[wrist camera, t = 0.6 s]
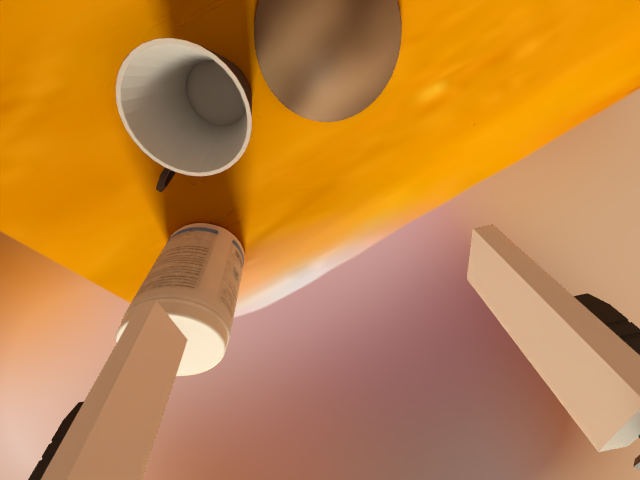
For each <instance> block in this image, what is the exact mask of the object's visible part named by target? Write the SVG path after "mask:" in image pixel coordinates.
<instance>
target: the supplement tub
mask: <svg viewBox="0 0 640 480" xmlns="http://www.w3.org/2000/svg"><path fill="white" fill-rule="evenodd" d="M243 264H244V250H243V247H242V245H241V243H240V242H239V240H238V239H237V238H236V237H235V236H234V235H233V234H232V233H231V232H229V231H228V230H226V229H224V228H222V227H219V226H216V225H212V224H207V223H194V224H189V225H186V226H184V227H182V228H180V229H178V230H177V231H176V232H174V233H173V234H172V236H171V237H170V239H169V240H168V242H167V243H166V245H165V247H164V248H163V250H162V252H161V254H160V255H159V257H158V259H157V260H156V262H155V264H154V265H153V267H152V269H151V270H150V272H149V274H148V275H147V277H146V279H145V280H144V282H143V284H142V286H141V287H140V289H139V291H138V292H137V294H136V296H135V297H134V299H133V301H132V302H131V304H130V306H129V308H128V309H127V311H126V313H125V315H124V317H123V320H122V322H121V325H120V327H119V329H118V331H117V334H116V344H117V342H118V340H119V339H120V337H121V335H122V333H123V331H124V330H125V328H126V326H127V324H128V322H129V321H130V319H131V317H132V315H133V314H134V312H135V310H136V308H137V306H138V305H139V304H142V303H146V302H151V301H155V300H157V302H158V303H159V304H160V305H161V307H162V308H163V309H164V311H165V312H166V313H167V314H168V316H169V317H170V318H171V319H172V321H173V322H174V323H175V324H176V326H177V327H178V328H179V329H180V331H181V332H182V333H183V334H184V336H185V337H186V338H187V339H188V341H187V344H186V347H185V350H184V353H183V356H182V359H181V362H180V365H179V368H178V371H177V374H176V376H186V375H193V374H198V373H201V372H204V371H207V370H209V369H211V368H212V367H214V366H215V365H216V364H218V363H219V362H220V361H221V359H222V358H223V356H224V354H225V350H226V346H227V344H228V341H229V336H230V332H231V327H232V322H233V317H234V312H235V306H236V301H237V296H238V291H239V285H240V280H241V275H242V269H243Z"/></svg>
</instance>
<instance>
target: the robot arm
mask: <svg viewBox="0 0 640 480" xmlns="http://www.w3.org/2000/svg"><path fill="white" fill-rule="evenodd" d="M467 280H468V281H469V282H470V283H471V285H472V286H473V287H474V289H475V290H476V291H477V293H478V294H479V295H480V297H481V298H482V299H483V301H484V302H485V303H486V305H487V306H488V307H489V309H490V310H491V311H492V312H493V314H494V315H495V316H496V318H497V319H498V320H499V322H500V323H501V324H502V326H503V327H504V328H505V330H506V331H507V332H508V334H509V335H510V336H511V338H512V339H513V340H514V341H515V343H516V344H517V345H518V347H519V348H520V349H521V351H522V352H523V353H524V355H525V356H526V357H527V359H528V360H529V361H530V363H531V364H532V365H533V367H534V368H535V369H536V370H537V372H538V373H539V374H540V376H541V377H542V378H543V380H544V381H545V382H546V384H547V385H548V386H549V388H550V389H551V390H552V392H553V393H554V394H555V396H556V397H557V398H558V399H559V401H560V402H561V403H562V405H563V406H564V407H565V409H566V410H567V411H568V413H569V414H570V415H571V417H572V418H573V419H574V421H575V422H576V423H577V425H578V426H579V427H580V428H581V430H582V431H583V432H584V434H585V435H586V436H587V438H588V439H589V440H590V442H591V443H592V444H593V446H594V447H595V448H596V450H598V452H600V451H606V450H611V449H616V448H621V447H626V446H629V445H630V444H631V443H632V442H633V441H634V440H635V439H637V438H638V437H639V438H640V329H639V328H638V327H637V326H635V325H634V324H633V323H632V322H631V323H630V322H629V321H628V319H627V318H626V317H624V316H623V315H622V314H621V313H619V312H618V311H617V310H616V309H615V308H613V307H612V306H611V305H610V304H608V303H606V302H604V301H602V300H600V299H598V298H596V297H594V296H592V295H590V294H583V295H578V296H572V295H571V294H570V293H569V292H568V291H566V289H565V288H563V287H562V286H561V285H560V284H559V283H558V282H557V281H556V280H554V279H553V278H552V277H551V276H550V275H549V274H548V273H547V272H545V271H544V270H543V269H542V268H541V267H540V266H539V265H537V264H536V263H535V262H534V261H533V260H532V259H531V258H530V257H529V256H528V255H526V254H525V253H524V252H523V251H522V250H521V249H520V248H518V247H517V246H516V245H515V244H514V243H513V242H512V241H511V240H510V239H508V238H507V237H506V236H505V235H504V234H503V233H502V232H501V231H499V230H498V229H497V228H496V227H495V226H494V225H488V226H483V227H479V228H474V229H473V234H472V242H471V250H470V258H469V266H468V274H467ZM187 341H188V339H187V338H186V337H185V336H184V334H183V333H182V332H181V331H180V329H179V328H178V327H177V326H176V324H175V323H174V322H173V321H172V319H171V318H170V317H169V316H168V314H167V313H166V312H165V311H164V309H163V308H162V307H161V305H160V304H159V303H158V302H157V300H155V301H151V302H146V303H142V304H139V305H138V306H137V308H136V310H135V312H134V314H133V315H132V317H131V319H130V321H129V322H128V324H127V326H126V328H125V330H124V331H123V333H122V335H121V337H120V339H119V340H118V342H117V344H116V346H115V347H114V349H113V351H112V353H111V355H110V356H109V358H108V360H107V362H106V364H105V365H104V367H103V369H102V371H101V373H100V375H99V376H98V378H97V380H96V381H95V383H94V385H93V387H92V389H91V391H90V392H89V394H88V396H87V398H86V399H85V401H84V402H79V403H78V404H77V405H76V406H75V408H73V410H72V411H71V412H70V413H69V414H68V415H67V417H66V418H65V419H64V420H63V421H62V423H61V425H60V427H59V428H58V430H57V432H56V433H55V435H54V437H53V438H52V443H51V444H49V445H48V447H47V449H46V450H45V452H44V454H43V456H42V460H41V461H39V462H38V464H37V466H36V467H35V469H34V471H33V472H32V474H31V476H30V478H29V479H28V480H142V477H143V474H144V471H145V468H146V465H147V462H148V459H149V456H150V453H151V450H152V447H153V444H154V441H155V438H156V435H157V432H158V429H159V426H160V423H161V419H162V416H163V414H164V411H165V407H166V404H167V401H168V398H169V395H170V392H171V389H172V386H173V383H174V380H175V377H176V374H177V371H178V368H179V365H180V362H181V359H182V356H183V353H184V350H185V347H186V344H187ZM634 467H635V468H637V469H639V470H640V455H639V456H638V457H637V458H636V459H635V462H634Z"/></svg>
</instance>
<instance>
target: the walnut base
mask: <svg viewBox="0 0 640 480" xmlns="http://www.w3.org/2000/svg"><path fill="white" fill-rule="evenodd" d="M254 40H255V49H256V55H257V59H258V63H259V67H260V69H261V72H262V74H263V77H264V79H265V81H266V83H267V84H268V86H269V88H270V89H271V91H272V92H273V94H274V95H275V96H276V97H277V98H278V99H279V101H280V102H281V103H282V104H284V105H285V106H286V107H287V108H288V109H290V110H291V111H293V112H294V113H296V114H298V115H300V116H302V117H304V118H307V119H310V120H314V121H319V122H334V121H340V120H344V119H347V118H349V117H352V116H354V115H356V114H358V113H360V112H361V111H363V110H364V109H365V108H367V107H368V106H369V105H370V104H371V103H372V102H374V101H375V99H376V98H377V97H378V96H379V95H380V94H381V92H382V91H383V89H384V88H385V87H386V85H387V83H388V81H389V80H390V78H391V76H392V73H393V71H394V68H395V66H396V62H397V59H398V56H399V50H400V45H401V17H400V10H399V5H398V2H397V0H259V3H258V6H257V11H256V17H255V26H254Z"/></svg>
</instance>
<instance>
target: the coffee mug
mask: <svg viewBox="0 0 640 480" xmlns="http://www.w3.org/2000/svg"><path fill="white" fill-rule="evenodd" d="M116 102H117V106H118V110H119V115H120V117H121V119H122V122H123V124H124V126H125V128H126V130H127V131H128V133H129V135H130V136H131V138H132V139H133V141H134V142H135V143H136V144H137V145H138V146H139V148H140V149H141V150H142V151H143V152H144V153H146V154H147V155H148V156H149V157H150V158H151V159H153V160H154V161H156V162H157V163H159V164H160V165H162V166H163V167H165V169H164V170H163V172H162V174H161V176H160V178H159V181H158V184H157V187H156V190H158V191H160V192H162V191H163V190H164V189H165V188H166V187H167V185H168V184H169V182H170V181H171V179H172V178H173V176H174V174H175V173H176V172H177V173H181V174H185V175H190V176H209V175H214V174H217V173H220V172H223V171H224V170H226V169H228V168H230V167H231V166H232V165H234V164H235V163H236V162H237V161H238V160H239V159H240V157H241V156H242V155H243V153H244V152H245V150H246V147H247V145H248V143H249V140H250V135H251V130H252V95H251V89H250V86H249V83H248V81H247V79H246V77H245V75H244V74H243V73H242V71H241V70H240V69H239V68H238V67H237V66H236V65H235V64H234V63H232V62H231V61H229V60H227V59H226V58H224V57H222V56H220V55H218V54H216V53H214V52H212V51H210V50H208V49H206V48H204V47H202V46H200V45H197V44H194V43H192V42H189V41H186V40H181V39H175V38H161V39H154V40H151V41H148V42H145V43H143V44H141V45H140V46H138V47H137V48H135V49H134V50H132V51H131V52H130V54H129V55H128V56H127V57H126V59H125V60H124V61H123V63H122V65H121V68H120V70H119V72H118V76H117V81H116ZM170 170H171V171H170Z"/></svg>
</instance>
